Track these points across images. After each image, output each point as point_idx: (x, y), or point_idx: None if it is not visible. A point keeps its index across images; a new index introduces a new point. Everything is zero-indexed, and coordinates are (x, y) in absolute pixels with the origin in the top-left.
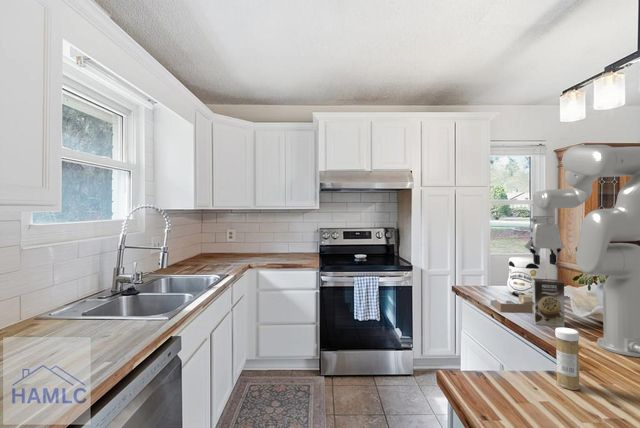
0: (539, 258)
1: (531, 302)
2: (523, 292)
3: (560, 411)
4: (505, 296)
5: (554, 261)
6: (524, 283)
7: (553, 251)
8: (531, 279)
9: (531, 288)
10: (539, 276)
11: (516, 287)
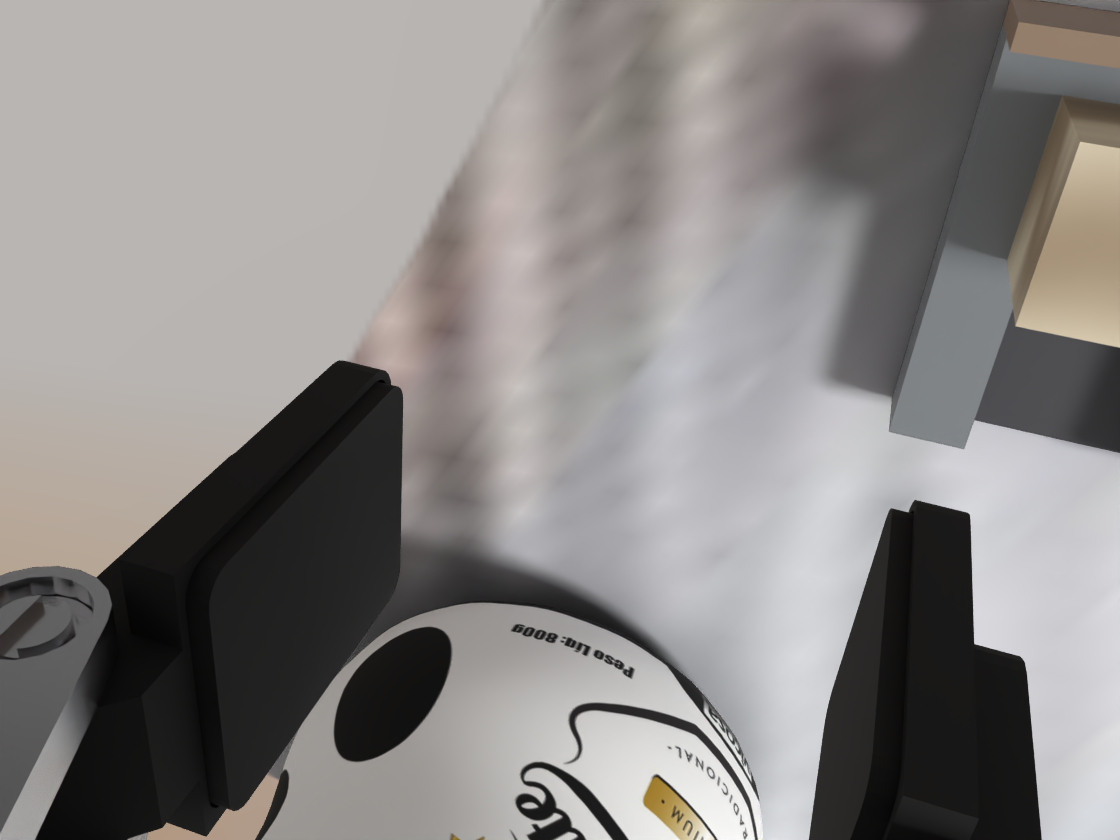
0: (893, 674)
1: (1114, 120)
2: (689, 706)
3: None
4: None
5: (326, 418)
6: (643, 801)
7: (54, 758)
8: (533, 812)
9: (590, 697)
10: (395, 815)
11: (734, 812)
